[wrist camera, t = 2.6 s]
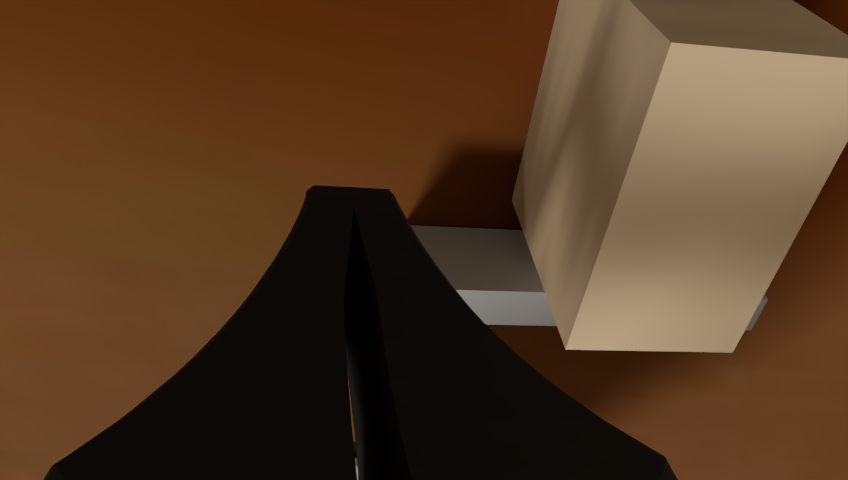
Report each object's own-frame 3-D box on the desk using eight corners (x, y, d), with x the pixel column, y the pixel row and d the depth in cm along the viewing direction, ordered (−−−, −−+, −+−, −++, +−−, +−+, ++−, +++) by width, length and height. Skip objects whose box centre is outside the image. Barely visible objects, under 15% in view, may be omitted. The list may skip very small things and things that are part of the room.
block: (641, 205, 21) (732, 352, 16) (511, 198, 20) (565, 349, 15) (732, -38, 17) (890, 62, 12) (571, -57, 16) (671, 42, 11)
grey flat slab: (710, 269, 23) (751, 330, 20) (399, 257, 21) (407, 322, 19) (894, -125, 16) (986, -97, 14) (459, -185, 14) (482, -165, 12)
